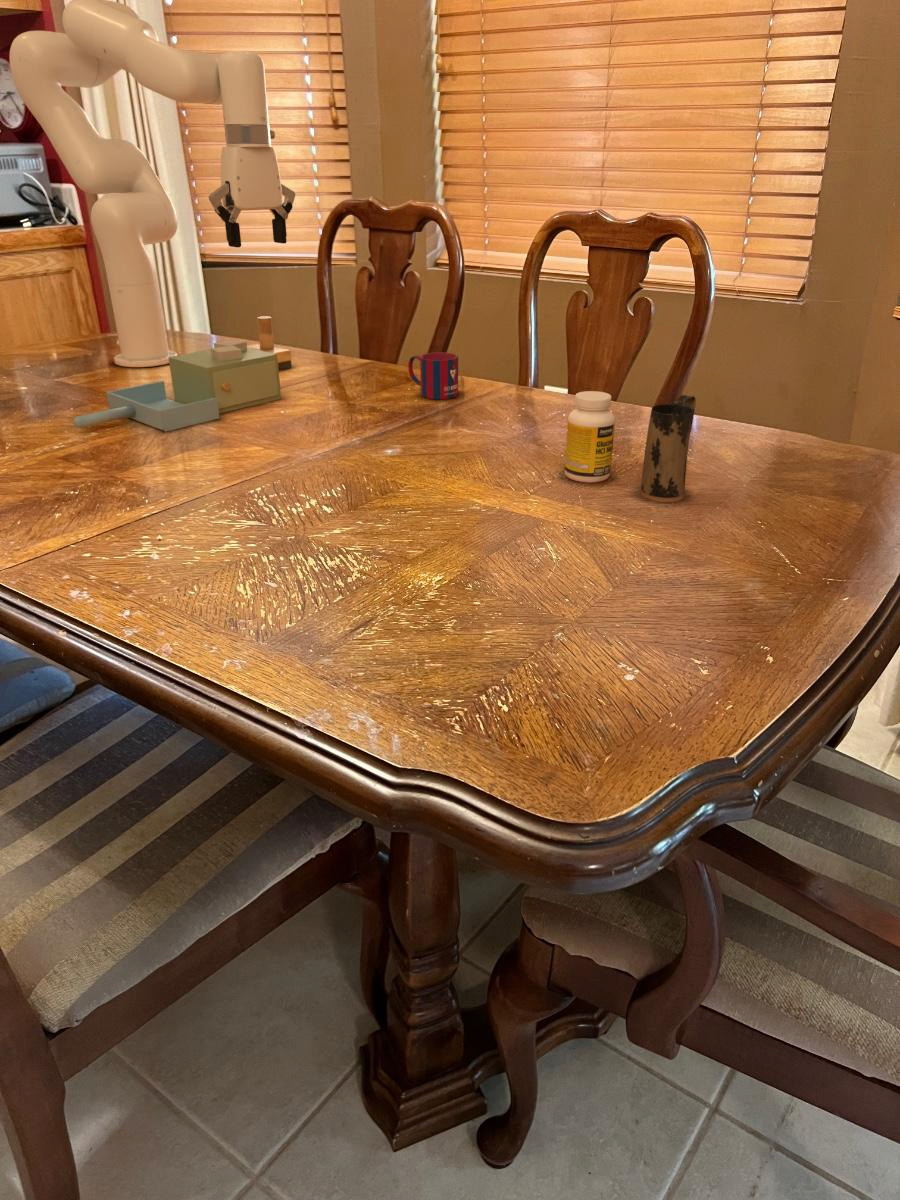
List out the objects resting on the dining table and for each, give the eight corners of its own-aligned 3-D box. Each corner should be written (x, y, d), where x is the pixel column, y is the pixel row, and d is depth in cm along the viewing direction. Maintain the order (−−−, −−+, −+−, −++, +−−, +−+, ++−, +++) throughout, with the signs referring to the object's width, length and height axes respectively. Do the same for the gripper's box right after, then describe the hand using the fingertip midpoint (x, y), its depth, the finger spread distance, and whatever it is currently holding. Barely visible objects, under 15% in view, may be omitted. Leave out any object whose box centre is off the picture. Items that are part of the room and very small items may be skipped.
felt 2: (211, 357, 147) (210, 348, 146) (234, 354, 149) (233, 345, 148) (219, 361, 144) (218, 352, 143) (242, 358, 146) (241, 349, 145)
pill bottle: (599, 487, 113) (606, 404, 108) (556, 478, 116) (561, 397, 110) (617, 473, 117) (624, 393, 112) (575, 465, 120) (581, 387, 115)
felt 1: (214, 351, 150) (213, 343, 150) (231, 347, 153) (230, 339, 153) (230, 354, 148) (229, 345, 148) (247, 350, 151) (246, 341, 151)
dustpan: (165, 400, 152) (162, 380, 150) (219, 418, 142) (217, 398, 140) (52, 424, 139) (47, 403, 137) (102, 446, 128) (98, 424, 127)
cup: (440, 401, 150) (440, 362, 147) (400, 392, 156) (398, 354, 153) (465, 394, 155) (465, 355, 151) (425, 385, 161) (424, 348, 157)
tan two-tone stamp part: (246, 363, 177) (240, 315, 172) (262, 360, 180) (257, 313, 175) (275, 371, 171) (270, 321, 166) (291, 367, 173) (287, 319, 169)
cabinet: (175, 402, 151) (168, 357, 147) (242, 387, 160) (237, 344, 156) (217, 416, 143) (211, 369, 139) (285, 400, 152) (281, 355, 148)
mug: (670, 505, 107) (682, 410, 101) (631, 495, 110) (641, 402, 104) (699, 488, 112) (712, 397, 107) (661, 479, 115) (672, 390, 110)
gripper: (277, 137, 155) (285, 239, 163) (191, 137, 144) (204, 246, 153) (302, 137, 151) (309, 243, 159) (215, 137, 140) (228, 250, 148)
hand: (258, 244), depth 156 cm, fingers open, 9 cm apart
